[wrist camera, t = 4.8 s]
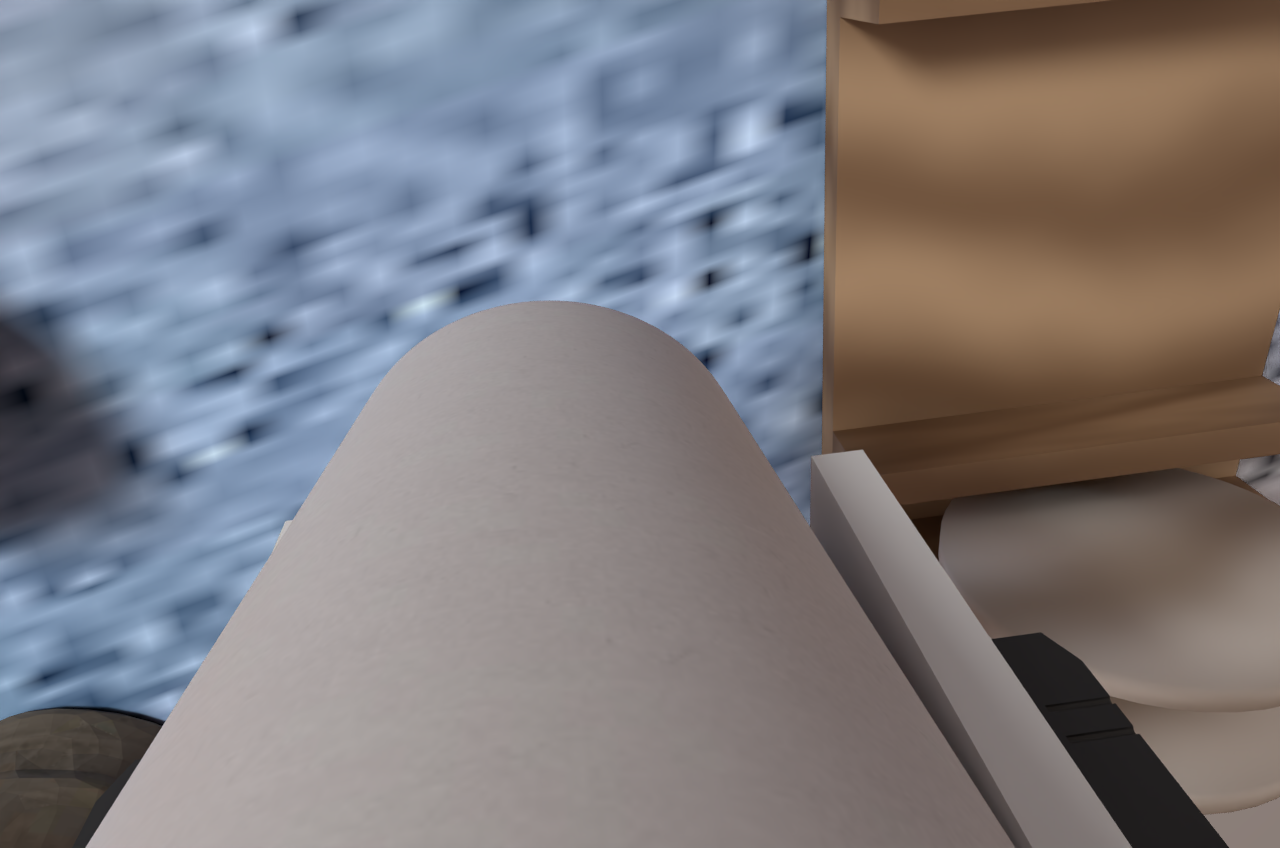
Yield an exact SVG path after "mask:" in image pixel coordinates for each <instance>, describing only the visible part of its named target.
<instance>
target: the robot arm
mask: <svg viewBox="0 0 1280 848" xmlns="http://www.w3.org/2000/svg"><path fill="white" fill-rule="evenodd" d="M292 521H293V520H290V521H285V524H284V526H283V528H282V531H281V533H280V535H279V538H278V540H277V542H276V545H275V547H274V549H275V548H276V546H277V544H278V543H279V541H280V540H281V538H282V536H283V535H284V533H285V532H286V530H287V529H288V527H289V525H290V524H291V522H292ZM810 528H811V529H812V531H813V532H814V534H815V536H816V537H817V539H818V540H819V542H820V543H821V545H822V547H823V548H824V550H825V551H826V553H827V554H828V556H829V558H830V559H831V561H832V562H833V564H834V565H835V567H836V569H837V570H838V572H839V573H840V575H841V576H842V578H843V580H844V581H845V583H846V584H847V586H848V587H849V589H850V590H851V592H852V594H853V595H854V597H855V598H856V600H857V601H858V603H859V605H860V606H861V608H862V609H863V611H864V612H865V614H866V616H867V617H868V619H869V620H870V622H871V623H872V625H873V626H874V628H875V630H876V631H877V633H878V634H879V636H880V637H881V639H882V641H883V642H884V644H885V645H886V647H887V648H888V650H889V652H890V653H891V655H892V656H893V658H894V659H895V661H896V662H897V664H898V666H899V667H900V669H901V670H902V672H903V673H904V675H905V677H906V678H907V680H908V681H909V683H910V684H911V686H912V687H913V689H914V691H915V692H916V694H917V695H918V697H919V698H920V700H921V702H922V703H923V705H924V706H925V708H926V709H927V711H928V712H929V714H930V716H931V717H932V719H933V720H934V722H935V723H936V725H937V727H938V728H939V730H940V731H941V733H942V734H943V736H944V737H945V739H946V741H947V742H948V744H949V745H950V747H951V748H952V750H953V751H954V753H955V755H956V756H957V758H958V759H959V761H960V762H961V764H962V766H963V767H964V769H965V770H966V772H967V773H968V775H969V776H970V778H971V780H972V781H973V783H974V784H975V786H976V787H977V789H978V790H979V792H980V794H981V795H982V797H983V798H984V800H985V801H986V803H987V804H988V806H989V808H990V809H991V811H992V812H993V814H994V815H995V817H996V818H997V820H998V822H999V823H1000V825H1001V826H1002V828H1003V829H1004V831H1005V832H1006V834H1007V836H1008V837H1009V839H1010V840H1011V842H1012V843H1013V845H1014V846H1015V848H1229V847H1228V846H1227V845H1226V843H1225V842H1224V841H1223V839H1222V838H1221V837H1220V836H1219V834H1218V833H1217V832H1216V831H1215V829H1214V828H1213V827H1212V826H1211V824H1210V823H1209V822H1208V820H1207V819H1206V818H1205V816H1204V815H1203V814H1202V813H1201V811H1200V810H1199V809H1198V808H1197V806H1196V805H1195V804H1194V802H1193V801H1192V800H1191V799H1190V797H1189V796H1188V795H1187V794H1186V792H1185V791H1184V790H1183V788H1182V787H1181V786H1180V785H1179V783H1178V782H1177V781H1176V780H1175V778H1174V777H1173V776H1172V774H1171V773H1170V772H1169V771H1168V769H1167V768H1166V767H1165V766H1164V764H1163V763H1162V762H1161V760H1160V759H1159V758H1158V757H1157V755H1156V754H1155V753H1154V752H1153V750H1152V749H1151V748H1150V746H1149V745H1148V744H1147V743H1146V741H1145V740H1144V739H1143V738H1142V736H1141V735H1140V734H1136V733H1135V732H1134V729H1133V725H1132V724H1131V722H1130V721H1129V720H1128V718H1127V717H1126V716H1125V715H1124V713H1123V712H1122V711H1121V710H1120V708H1119V707H1118V706H1117V704H1116V703H1114V704H1112V702H1111V700H1110V696H1109V694H1108V693H1107V692H1106V690H1105V689H1104V688H1103V687H1102V685H1101V684H1100V683H1099V682H1098V680H1097V679H1096V678H1095V676H1094V675H1093V674H1092V673H1091V671H1090V670H1089V669H1088V668H1087V666H1086V665H1085V664H1084V662H1083V661H1082V660H1081V659H1079V658H1078V657H1076V656H1075V655H1073V654H1072V653H1070V652H1069V651H1067V650H1066V649H1065V648H1063V647H1062V646H1060V645H1059V644H1057V643H1056V642H1054V641H1053V640H1051V639H1050V638H1049V637H1047V636H1046V635H1044V634H1043V633H1041V632H1039V633H1032V634H1024V635H1017V636H1010V637H1003V638H995V639H991V638H990V637H989V635H988V634H987V632H986V631H985V630H984V628H983V627H982V625H981V624H980V622H979V621H978V619H977V618H976V616H975V615H974V613H973V612H972V610H971V609H970V607H969V606H968V604H967V603H966V601H965V600H964V599H963V597H962V596H961V594H960V593H959V591H958V590H957V588H956V587H955V585H954V584H953V582H952V581H951V579H950V578H949V576H948V575H947V573H946V572H945V570H944V569H943V567H942V566H941V565H940V563H939V562H938V560H937V559H936V557H935V556H934V554H933V553H932V551H931V550H930V548H929V547H928V545H927V544H926V542H925V541H924V539H923V538H922V536H921V535H920V533H919V532H918V531H917V529H916V528H915V526H914V525H913V523H912V522H911V520H910V519H909V517H908V516H907V514H906V513H905V511H904V510H903V508H902V507H901V505H900V504H899V502H898V501H897V500H896V498H895V497H894V495H893V494H892V492H891V491H890V489H889V488H888V486H887V485H886V483H885V482H884V480H883V479H882V477H881V476H880V474H879V473H878V471H877V470H876V468H875V467H874V466H873V464H872V463H871V461H870V460H869V458H868V457H867V455H866V454H865V452H864V451H863V450H856V451H848V452H840V453H832V454H824V455H815V456H811V504H810ZM274 549H273V551H274ZM140 761H141V759H139V760H135V761H134V762H133V763H132V764H131V765H130V766H129V767H128V768H127V769H126V770H125V771H124V772H123V773H122V774H121V775H120V776H119V778H118V779H117V780H116V781H115V782H114V783H113V784H112V785H111V786H110V787H109V788H108V789H107V790H106V791H105V792H104V793H103V795H102V796H101V797H100V798H99V799H98V800H97V801H96V802H95V804H94V806H93V808H92V810H91V812H90V814H89V816H88V818H87V820H86V822H85V824H84V825H83V827H82V829H81V831H80V833H79V835H78V837H77V839H76V841H75V843H74V845H73V847H72V848H86V846H87V844H88V843H89V841H90V840H91V838H92V837H93V835H94V833H95V832H96V830H97V829H98V827H99V826H100V824H101V822H102V821H103V819H104V818H105V816H106V814H107V813H108V811H109V810H110V808H111V807H112V805H113V803H114V802H115V800H116V799H117V797H118V796H119V794H120V792H121V791H122V789H123V788H124V786H125V785H126V783H127V781H128V780H129V778H130V777H131V775H132V774H133V772H134V770H135V769H136V767H137V766H138V764H139V762H140Z"/></svg>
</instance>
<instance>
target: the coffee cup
mask: <svg viewBox="0 0 1280 848" xmlns="http://www.w3.org/2000/svg"><path fill="white" fill-rule="evenodd" d="M86 848H1015V846H1014V845H1013V843H1012V842H1011V840H1010V839H1009V837H1008V836H1007V834H1006V832H1005V831H1004V829H1003V828H1002V826H1001V825H1000V823H999V822H998V820H997V818H996V817H995V815H994V814H993V812H992V811H991V809H990V808H989V806H988V804H987V803H986V801H985V800H984V798H983V797H982V795H981V794H980V792H979V790H978V789H977V787H976V786H975V784H974V783H973V781H972V780H971V778H970V776H969V775H968V773H967V772H966V770H965V769H964V767H963V766H962V764H961V762H960V761H959V759H958V758H957V756H956V755H955V753H954V751H953V750H952V748H951V747H950V745H949V744H948V742H947V741H946V739H945V737H944V736H943V734H942V733H941V731H940V730H939V728H938V727H937V725H936V723H935V722H934V720H933V719H932V717H931V716H930V714H929V712H928V711H927V709H926V708H925V706H924V705H923V703H922V702H921V700H920V698H919V697H918V695H917V694H916V692H915V691H914V689H913V687H912V686H911V684H910V683H909V681H908V680H907V678H906V677H905V675H904V673H903V672H902V670H901V669H900V667H899V666H898V664H897V662H896V661H895V659H894V658H893V656H892V655H891V653H890V652H889V650H888V648H887V647H886V645H885V644H884V642H883V641H882V639H881V637H880V636H879V634H878V633H877V631H876V630H875V628H874V626H873V625H872V623H871V622H870V620H869V619H868V617H867V616H866V614H865V612H864V611H863V609H862V608H861V606H860V605H859V603H858V601H857V600H856V598H855V597H854V595H853V594H852V592H851V590H850V589H849V587H848V586H847V584H846V583H845V581H844V580H843V578H842V576H841V575H840V573H839V572H838V570H837V569H836V567H835V565H834V564H833V562H832V561H831V559H830V558H829V556H828V554H827V553H826V551H825V550H824V548H823V547H822V545H821V543H820V542H819V540H818V539H817V537H816V536H815V534H814V532H813V531H812V529H811V528H810V526H809V525H808V523H807V522H806V520H805V518H804V517H803V515H802V514H801V512H800V511H799V509H798V507H797V506H796V504H795V503H794V501H793V500H792V498H791V496H790V495H789V493H788V492H787V490H786V489H785V487H784V485H783V484H782V482H781V481H780V479H779V478H778V476H777V474H776V473H775V471H774V470H773V468H772V467H771V465H770V463H769V462H768V460H767V459H766V457H765V455H764V454H763V452H762V451H761V449H760V448H759V446H758V444H757V443H756V441H755V440H754V438H753V437H752V435H751V433H750V432H749V430H748V429H747V427H746V426H745V424H744V422H743V421H742V419H741V418H740V416H739V415H738V413H737V411H736V410H735V408H734V407H733V405H732V404H731V402H730V401H729V399H728V397H727V396H726V394H725V393H724V391H723V390H722V388H721V387H720V385H719V384H718V382H717V381H716V380H715V378H714V377H713V376H712V374H711V373H710V372H709V371H708V370H707V368H706V367H705V366H704V365H703V364H702V363H701V362H700V361H699V360H698V359H697V358H696V357H695V356H694V355H693V354H692V353H691V352H690V351H689V350H688V349H686V348H685V347H684V346H683V345H681V344H680V343H679V342H678V341H676V340H675V339H673V338H672V337H671V336H669V335H667V334H666V333H664V332H663V331H661V330H659V329H658V328H656V327H654V326H652V325H650V324H648V323H646V322H644V321H642V320H640V319H638V318H635V317H633V316H630V315H628V314H625V313H622V312H619V311H616V310H612V309H609V308H605V307H601V306H596V305H591V304H586V303H578V302H569V301H530V302H521V303H514V304H508V305H503V306H499V307H494V308H490V309H487V310H483V311H480V312H477V313H474V314H472V315H469V316H466V317H464V318H462V319H459V320H457V321H455V322H453V323H451V324H449V325H447V326H445V327H443V328H441V329H439V330H438V331H436V332H434V333H433V334H431V335H430V336H428V337H427V338H425V339H424V340H422V341H421V342H420V343H418V344H417V345H416V346H415V347H413V348H412V349H411V350H410V351H409V352H407V353H406V354H405V355H404V356H403V357H402V358H401V359H400V360H399V361H398V362H397V363H396V364H395V365H394V366H393V367H392V368H391V370H390V371H389V372H388V373H387V374H386V376H385V377H384V378H383V379H382V381H381V382H380V383H379V385H378V386H377V388H376V389H375V391H374V392H373V394H372V395H371V397H370V398H369V400H368V402H367V403H366V405H365V406H364V408H363V409H362V411H361V413H360V414H359V416H358V417H357V419H356V421H355V422H354V424H353V425H352V427H351V428H350V430H349V432H348V433H347V435H346V436H345V438H344V440H343V441H342V443H341V444H340V446H339V448H338V449H337V451H336V452H335V454H334V456H333V457H332V459H331V460H330V462H329V463H328V465H327V467H326V468H325V470H324V471H323V473H322V475H321V476H320V478H319V479H318V481H317V483H316V484H315V486H314V487H313V489H312V490H311V492H310V494H309V495H308V497H307V498H306V500H305V502H304V503H303V505H302V506H301V508H300V510H299V511H298V513H297V514H296V516H295V517H294V519H293V521H292V522H291V524H290V525H289V527H288V529H287V530H286V532H285V533H284V535H283V536H282V538H281V540H280V541H279V543H278V544H277V546H276V548H275V549H274V551H273V552H272V554H271V555H270V557H269V559H268V560H267V562H266V563H265V565H264V567H263V568H262V570H261V571H260V573H259V574H258V576H257V578H256V579H255V581H254V582H253V584H252V586H251V587H250V589H249V590H248V592H247V593H246V595H245V597H244V598H243V600H242V601H241V603H240V605H239V606H238V608H237V609H236V611H235V612H234V614H233V616H232V617H231V619H230V620H229V622H228V624H227V625H226V627H225V628H224V630H223V631H222V633H221V635H220V636H219V638H218V639H217V641H216V642H215V644H214V646H213V647H212V649H211V650H210V652H209V654H208V655H207V657H206V658H205V660H204V661H203V663H202V665H201V666H200V668H199V669H198V671H197V673H196V674H195V676H194V677H193V679H192V680H191V682H190V684H189V685H188V687H187V688H186V690H185V691H184V693H183V695H182V696H181V698H180V699H179V701H178V703H177V704H176V706H175V707H174V709H173V710H172V712H171V714H170V715H169V717H168V718H167V720H166V721H165V723H164V725H163V726H162V728H161V729H160V731H159V733H158V734H157V736H156V737H155V739H154V740H153V742H152V744H151V745H150V747H149V748H148V750H147V751H146V753H145V755H144V756H143V758H142V759H141V761H140V762H139V764H138V766H137V767H136V769H135V770H134V772H133V774H132V775H131V777H130V778H129V780H128V781H127V783H126V785H125V786H124V788H123V789H122V791H121V792H120V794H119V796H118V797H117V799H116V800H115V802H114V803H113V805H112V807H111V808H110V810H109V811H108V813H107V814H106V816H105V818H104V819H103V821H102V822H101V824H100V826H99V827H98V829H97V830H96V832H95V833H94V835H93V837H92V838H91V840H90V841H89V843H88V844H87V846H86Z"/></svg>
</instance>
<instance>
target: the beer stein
mask: <svg viewBox="0 0 1280 848" xmlns="http://www.w3.org/2000/svg"><path fill="white" fill-rule="evenodd" d="M161 728H162V726H160V725H158V724H156V723H153V722H150V721H146V720H142V719H138V718H135V717H131V716H127V715H123V714H119V713H113V712H105V711H97V710H88V709H48V710H39V711H30V712H25V713H21V714H18V715H14V716H11V717H8V718H6V719H3V720H1V721H0V848H72V847H73V845H74V843H75V841H76V839H77V837H78V835H79V833H80V831H81V829H82V827H83V825H84V824H85V822H86V820H87V818H88V816H89V814H90V812H91V810H92V808H93V806H94V804H95V802H96V801H97V800H98V799H99V798H100V797H101V796H102V795H103V793H104V792H105V791H106V790H107V789H108V788H109V787H110V786H111V785H112V784H113V783H114V782H115V781H116V780H117V779H118V778H119V776H120V775H121V774H122V773H123V772H124V771H125V770H126V769H127V768H128V767H129V766H130V765H131V764H132V763H133V762H134V761H135V760H139V759H142V758H143V756H144V755H145V753H146V751H147V750H148V748H149V747H150V745H151V744H152V742H153V740H154V739H155V737H156V736H157V734H158V733H159V731H160V729H161Z"/></svg>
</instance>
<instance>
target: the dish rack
mask: <svg viewBox="0 0 1280 848" xmlns="http://www.w3.org/2000/svg"><path fill="white" fill-rule="evenodd" d="M1279 309H1280V0H827V48H826V136H825V224H824V312H823V400H822V455H824V454H832V453H840V452H848V451H856V450H863V451H864V452H865V454H866V455H867V457H868V458H869V460H870V461H871V463H872V464H873V466H874V467H875V468H876V470H877V471H878V473H879V474H880V476H881V477H882V479H883V480H884V482H885V483H886V485H887V486H888V488H889V489H890V491H891V492H892V494H893V495H894V497H895V498H896V500H897V501H898V502H899V504H900V505H901V507H902V508H903V510H904V511H905V513H906V514H907V516H908V517H909V519H910V520H911V522H912V523H913V525H914V526H915V528H916V529H917V531H918V532H919V533H920V535H921V536H922V538H923V539H924V541H925V542H926V544H927V545H928V547H929V548H930V550H931V551H932V553H933V554H934V556H935V557H936V559H937V560H938V562H939V563H940V565H941V566H942V567H943V569H944V570H945V572H946V573H947V575H948V576H949V578H950V579H951V581H952V582H953V584H954V585H955V587H956V588H957V590H958V591H959V593H960V594H961V596H962V597H963V599H964V600H965V601H966V603H967V604H968V606H969V607H970V609H971V610H972V612H973V613H974V615H975V616H976V618H977V619H978V621H979V622H980V624H981V625H982V627H983V628H984V630H985V631H986V632H987V634H988V635H989V637H990V638H991V639H995V638H1003V637H1010V636H1017V635H1024V634H1032V633H1039V632H1041V633H1043V634H1044V635H1046V636H1047V637H1049V638H1050V639H1051V640H1053V641H1054V642H1056V643H1057V644H1059V645H1060V646H1062V647H1063V648H1065V649H1066V650H1067V651H1069V652H1070V653H1072V654H1073V655H1075V656H1076V657H1078V658H1079V659H1081V660H1082V661H1083V662H1084V664H1085V665H1086V666H1087V668H1088V669H1089V670H1090V671H1091V673H1092V674H1093V675H1094V676H1095V678H1096V679H1097V680H1098V682H1099V683H1100V684H1101V685H1102V687H1103V688H1104V689H1105V690H1106V692H1107V693H1108V694H1109V696H1110V700H1111V702H1112V704H1114V703H1116V704H1117V706H1118V707H1119V708H1120V710H1121V711H1122V712H1123V713H1124V715H1125V716H1126V717H1127V718H1128V720H1129V721H1130V722H1131V724H1132V725H1133V729H1134V732H1135V733H1136V734H1140V735H1141V736H1142V738H1143V739H1144V740H1145V741H1146V743H1147V744H1148V745H1149V746H1150V748H1151V749H1152V750H1153V752H1154V753H1155V754H1156V755H1157V757H1158V758H1159V759H1160V760H1161V762H1162V763H1163V764H1164V766H1165V767H1166V768H1167V769H1168V771H1169V772H1170V773H1171V774H1172V776H1173V777H1174V778H1175V780H1176V781H1177V782H1178V783H1179V785H1180V786H1181V787H1182V788H1183V790H1184V791H1185V792H1186V794H1187V795H1188V796H1189V797H1190V799H1191V800H1192V801H1193V802H1194V804H1195V805H1196V806H1197V808H1198V809H1199V810H1200V811H1201V813H1202V814H1203V815H1206V814H1216V813H1227V812H1234V811H1238V810H1242V809H1247V808H1252V807H1256V806H1259V805H1261V804H1264V803H1266V802H1269V801H1272V800H1274V799H1277V798H1278V797H1280V506H1279V505H1277V504H1276V503H1274V502H1272V501H1270V500H1268V499H1267V498H1266V497H1264V496H1263V495H1261V494H1260V493H1259V492H1257V491H1256V490H1255V489H1253V488H1252V487H1250V486H1249V485H1248V484H1246V483H1245V482H1244V481H1242V480H1241V479H1240V478H1238V477H1237V476H1236V472H1237V468H1238V464H1239V460H1240V459H1247V458H1254V457H1262V456H1269V455H1277V454H1280V386H1279V385H1277V384H1276V383H1274V382H1272V381H1270V380H1269V379H1267V378H1265V377H1263V376H1262V374H1263V370H1264V366H1265V362H1266V359H1267V355H1268V351H1269V347H1270V343H1271V340H1272V336H1273V332H1274V328H1275V325H1276V321H1277V317H1278V313H1279Z"/></svg>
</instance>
